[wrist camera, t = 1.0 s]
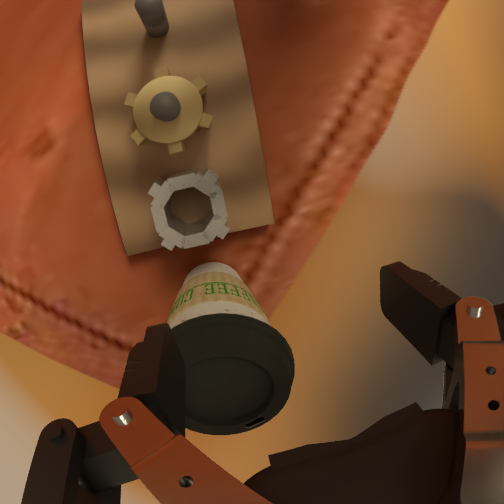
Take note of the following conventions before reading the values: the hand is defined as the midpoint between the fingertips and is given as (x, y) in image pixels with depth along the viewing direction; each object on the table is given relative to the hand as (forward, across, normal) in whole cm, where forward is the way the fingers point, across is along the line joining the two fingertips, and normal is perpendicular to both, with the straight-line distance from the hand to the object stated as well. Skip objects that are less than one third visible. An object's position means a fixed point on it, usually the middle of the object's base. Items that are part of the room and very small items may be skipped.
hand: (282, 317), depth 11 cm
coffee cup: (+20, +4, +8) cm, 22 cm away
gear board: (+20, +3, -11) cm, 23 cm away
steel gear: (+18, +3, -2) cm, 19 cm away
